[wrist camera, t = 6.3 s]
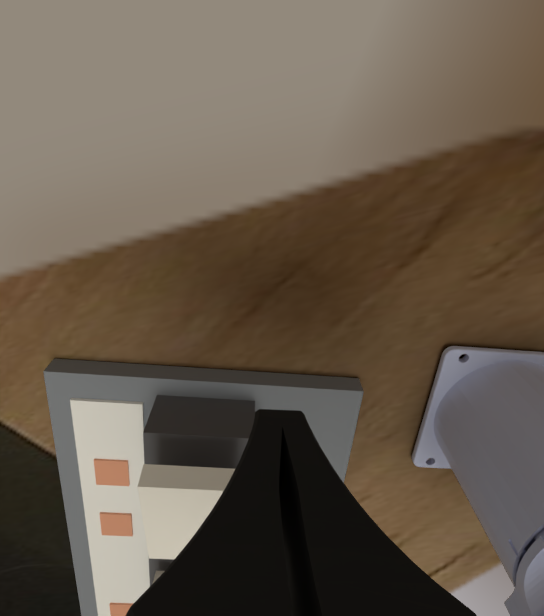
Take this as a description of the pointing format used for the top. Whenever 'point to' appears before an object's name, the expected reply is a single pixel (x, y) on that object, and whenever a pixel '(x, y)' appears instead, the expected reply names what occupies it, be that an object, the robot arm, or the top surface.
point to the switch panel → (149, 379)
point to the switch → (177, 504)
